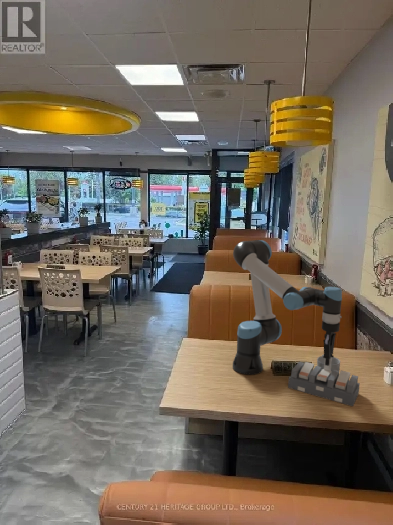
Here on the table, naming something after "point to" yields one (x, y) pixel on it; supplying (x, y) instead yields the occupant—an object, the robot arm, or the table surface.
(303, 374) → the rocker
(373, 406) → the table surface
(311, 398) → the table surface
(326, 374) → the block
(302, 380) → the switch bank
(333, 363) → the teacup
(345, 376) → the rocker
